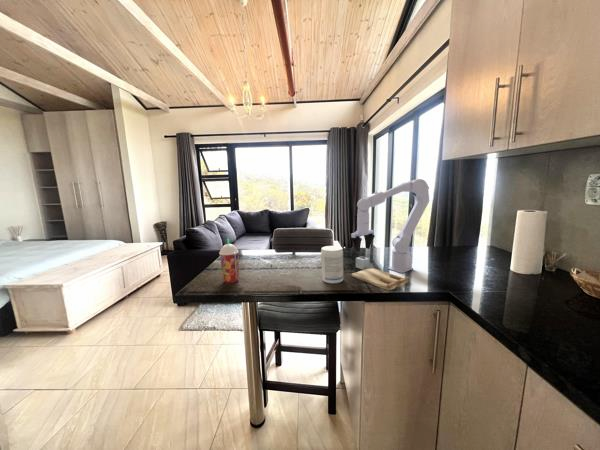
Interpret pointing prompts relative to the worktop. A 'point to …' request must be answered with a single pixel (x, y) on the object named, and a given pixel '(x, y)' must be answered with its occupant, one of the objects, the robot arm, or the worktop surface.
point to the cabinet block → (362, 263)
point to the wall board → (380, 278)
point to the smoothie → (229, 262)
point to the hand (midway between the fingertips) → (362, 249)
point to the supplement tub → (332, 264)
